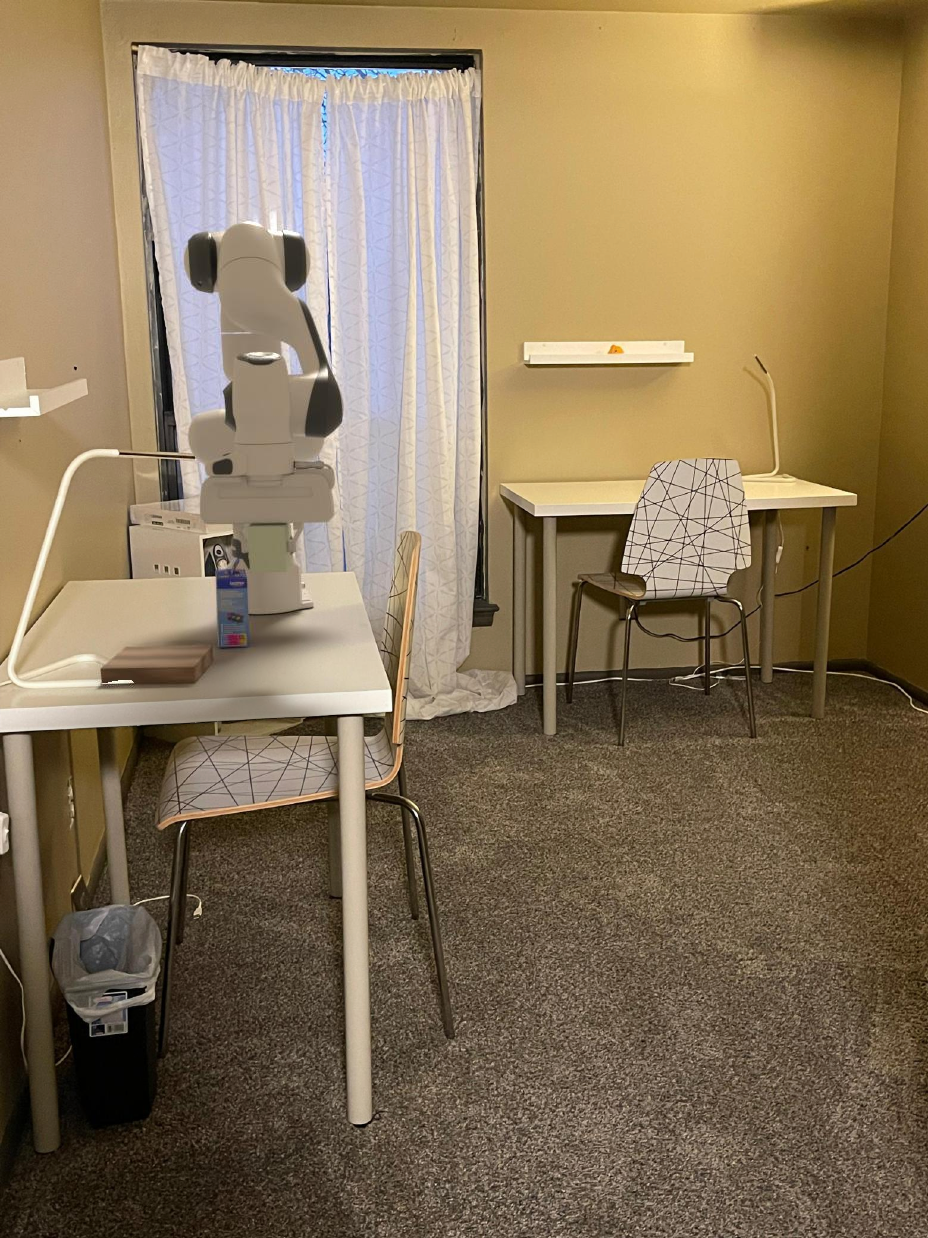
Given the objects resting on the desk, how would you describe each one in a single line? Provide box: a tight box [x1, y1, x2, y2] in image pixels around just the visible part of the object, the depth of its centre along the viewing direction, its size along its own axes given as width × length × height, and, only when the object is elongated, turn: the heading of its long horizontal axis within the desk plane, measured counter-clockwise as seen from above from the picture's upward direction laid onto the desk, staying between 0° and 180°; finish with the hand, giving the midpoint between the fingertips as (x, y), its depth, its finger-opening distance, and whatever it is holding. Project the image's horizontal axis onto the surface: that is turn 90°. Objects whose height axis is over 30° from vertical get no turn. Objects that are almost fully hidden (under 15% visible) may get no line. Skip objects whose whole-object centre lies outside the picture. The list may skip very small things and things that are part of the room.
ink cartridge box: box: [214, 557, 250, 649], centre depth 199 cm, size 10×6×14 cm, turn 13°
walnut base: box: [99, 644, 214, 685], centre depth 181 cm, size 14×14×2 cm
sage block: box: [248, 523, 291, 573], centre depth 178 cm, size 6×6×7 cm
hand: (269, 552), depth 179 cm, fingers closed on sage block, 5 cm apart
